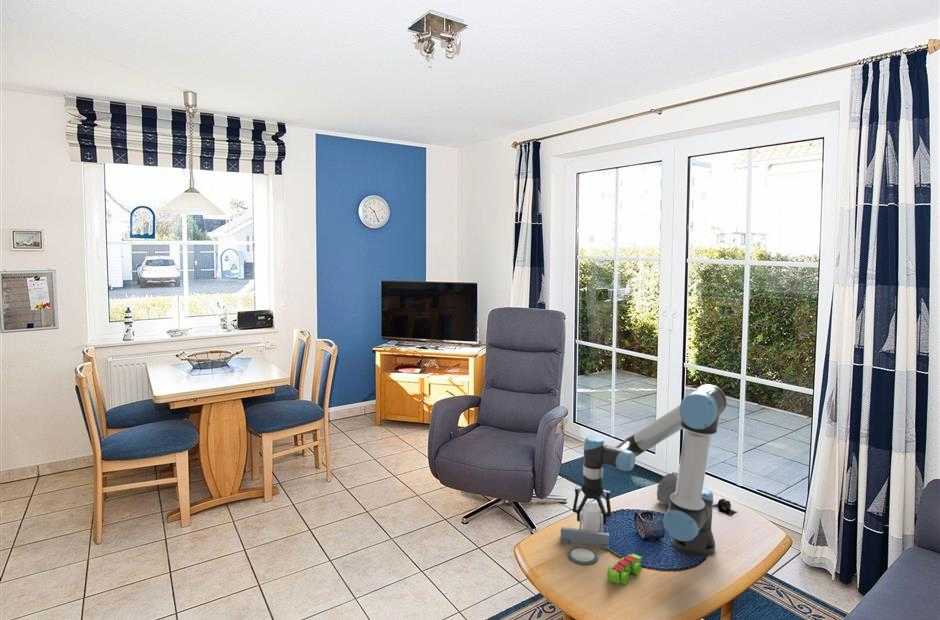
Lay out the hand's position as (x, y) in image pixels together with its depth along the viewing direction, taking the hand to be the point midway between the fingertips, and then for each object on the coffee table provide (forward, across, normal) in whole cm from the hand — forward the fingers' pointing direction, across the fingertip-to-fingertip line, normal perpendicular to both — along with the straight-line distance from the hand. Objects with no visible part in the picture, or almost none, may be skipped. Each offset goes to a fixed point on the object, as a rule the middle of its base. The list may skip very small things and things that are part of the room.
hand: (591, 529), depth 224 cm
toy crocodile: (+1, -13, +27) cm, 30 cm away
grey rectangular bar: (0, +2, +10) cm, 10 cm away
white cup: (0, 0, 0) cm, 0 cm away
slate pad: (0, +2, +19) cm, 19 cm away
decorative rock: (0, -34, -30) cm, 45 cm away
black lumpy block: (+1, -54, -32) cm, 63 cm away
